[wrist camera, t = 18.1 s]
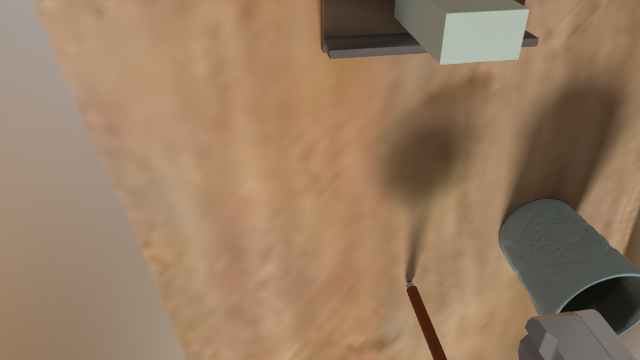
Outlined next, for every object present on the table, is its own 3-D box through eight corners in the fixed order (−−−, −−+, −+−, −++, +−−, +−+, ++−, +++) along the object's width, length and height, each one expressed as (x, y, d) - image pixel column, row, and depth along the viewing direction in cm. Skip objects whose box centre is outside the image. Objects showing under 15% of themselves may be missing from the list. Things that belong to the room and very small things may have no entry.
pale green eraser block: (397, -25, 36) (446, 13, 28) (462, -28, 37) (529, 9, 28) (394, 16, 38) (439, 64, 30) (456, 13, 38) (518, 59, 30)
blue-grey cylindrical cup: (539, 178, 50) (613, 259, 41) (598, 212, 55) (679, 293, 45) (473, 247, 55) (527, 335, 45) (533, 273, 59) (595, 359, 49)
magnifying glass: (445, 269, 56) (534, 444, 40) (445, 279, 57) (533, 455, 41) (371, 286, 56) (430, 470, 39) (373, 296, 57) (431, 480, 40)
